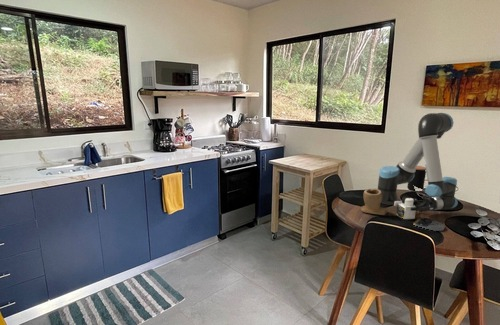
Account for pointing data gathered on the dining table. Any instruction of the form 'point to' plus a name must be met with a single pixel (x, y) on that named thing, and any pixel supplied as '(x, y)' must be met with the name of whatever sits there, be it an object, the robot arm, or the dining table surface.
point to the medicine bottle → (401, 207)
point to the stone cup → (373, 202)
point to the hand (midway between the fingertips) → (399, 206)
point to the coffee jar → (418, 178)
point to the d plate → (429, 224)
